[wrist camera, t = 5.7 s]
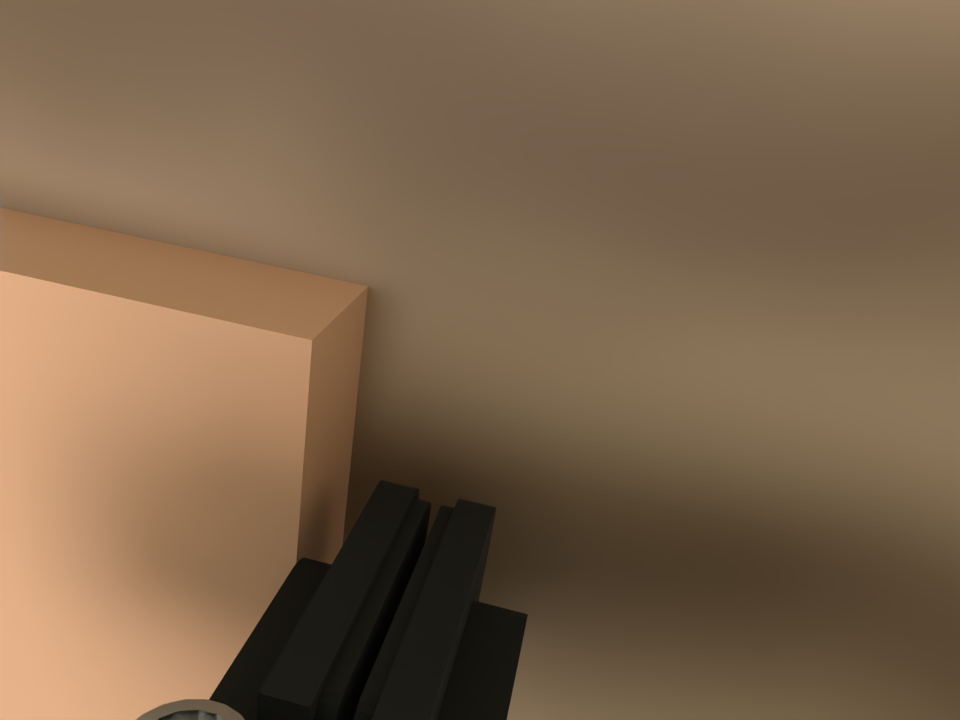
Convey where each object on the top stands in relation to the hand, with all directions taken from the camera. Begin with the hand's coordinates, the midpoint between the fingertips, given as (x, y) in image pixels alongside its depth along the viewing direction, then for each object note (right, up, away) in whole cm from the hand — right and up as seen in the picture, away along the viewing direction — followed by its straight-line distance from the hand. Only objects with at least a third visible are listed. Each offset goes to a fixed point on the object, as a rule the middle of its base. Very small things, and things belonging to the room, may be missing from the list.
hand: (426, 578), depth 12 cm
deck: (+2, +2, +4) cm, 5 cm away
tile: (-5, +1, +1) cm, 6 cm away
